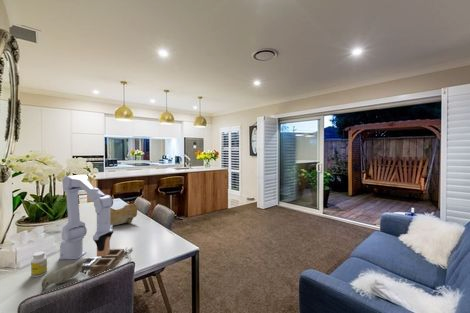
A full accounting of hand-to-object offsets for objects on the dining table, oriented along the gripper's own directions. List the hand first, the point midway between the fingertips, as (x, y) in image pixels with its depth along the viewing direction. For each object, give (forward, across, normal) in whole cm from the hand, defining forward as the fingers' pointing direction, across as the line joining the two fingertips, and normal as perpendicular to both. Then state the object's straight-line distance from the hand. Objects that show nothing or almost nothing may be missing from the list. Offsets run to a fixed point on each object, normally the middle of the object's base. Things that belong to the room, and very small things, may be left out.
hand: (103, 248), depth 107 cm
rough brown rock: (+10, +66, +19) cm, 70 cm away
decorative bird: (+10, -10, +11) cm, 18 cm away
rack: (+10, +5, 0) cm, 11 cm away
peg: (+3, 0, 0) cm, 3 cm away
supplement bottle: (+10, -4, +26) cm, 29 cm away
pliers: (+10, +12, -5) cm, 17 cm away
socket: (+10, +4, +10) cm, 15 cm away
